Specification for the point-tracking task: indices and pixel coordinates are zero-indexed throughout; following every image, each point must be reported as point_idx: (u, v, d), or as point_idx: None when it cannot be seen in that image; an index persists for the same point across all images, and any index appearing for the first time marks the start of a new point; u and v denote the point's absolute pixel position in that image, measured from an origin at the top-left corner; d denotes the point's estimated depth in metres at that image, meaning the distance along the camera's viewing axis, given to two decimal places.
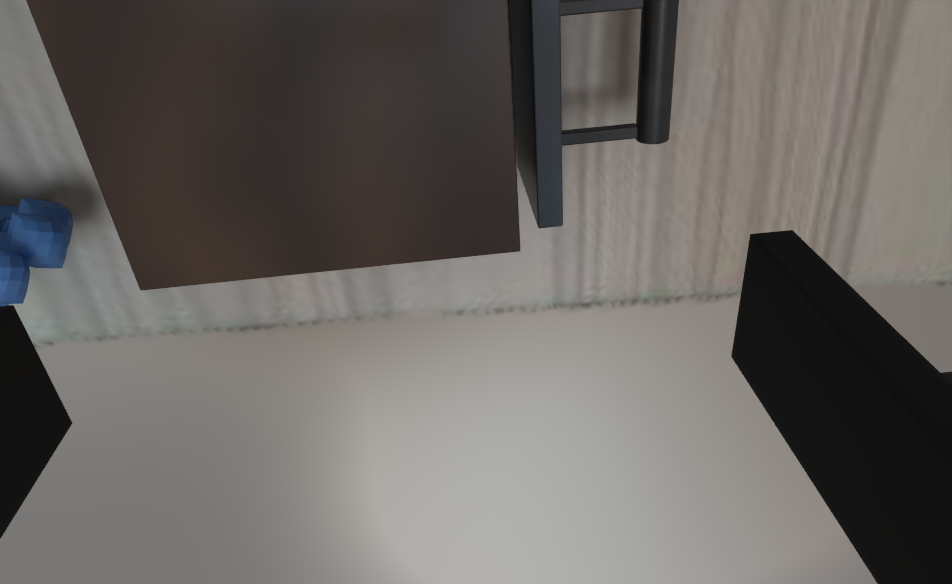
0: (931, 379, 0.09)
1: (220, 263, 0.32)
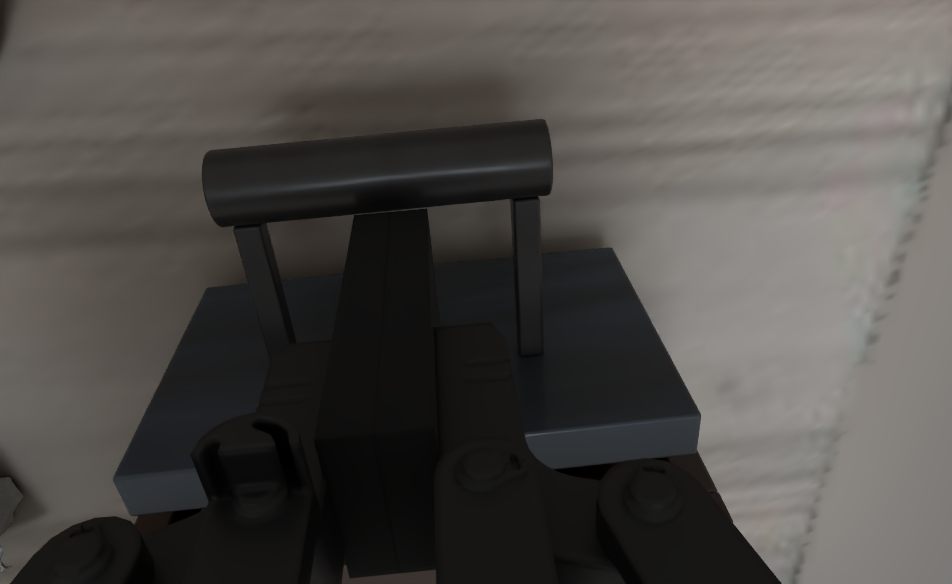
0: (419, 324, 0.11)
1: None
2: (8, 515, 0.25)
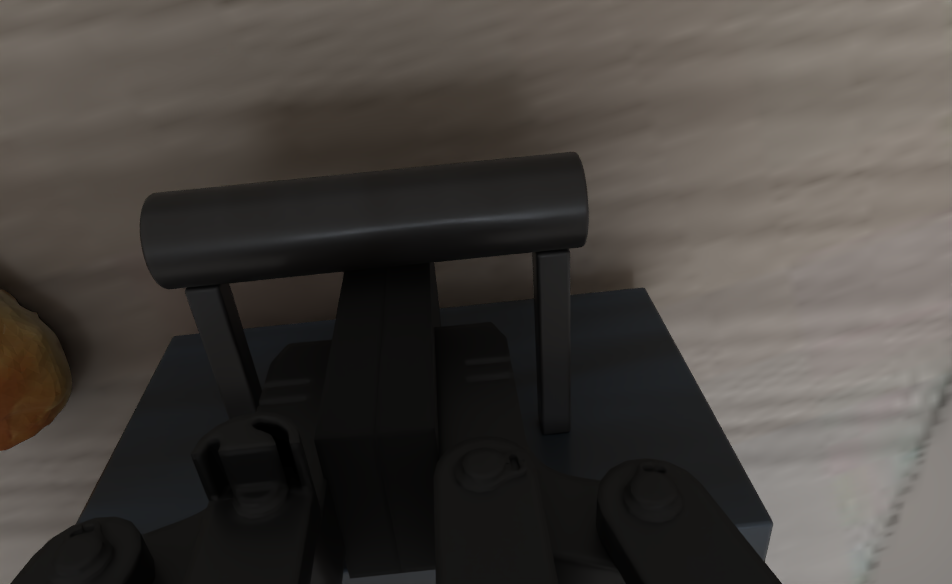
0: (420, 324, 0.11)
1: None
2: None
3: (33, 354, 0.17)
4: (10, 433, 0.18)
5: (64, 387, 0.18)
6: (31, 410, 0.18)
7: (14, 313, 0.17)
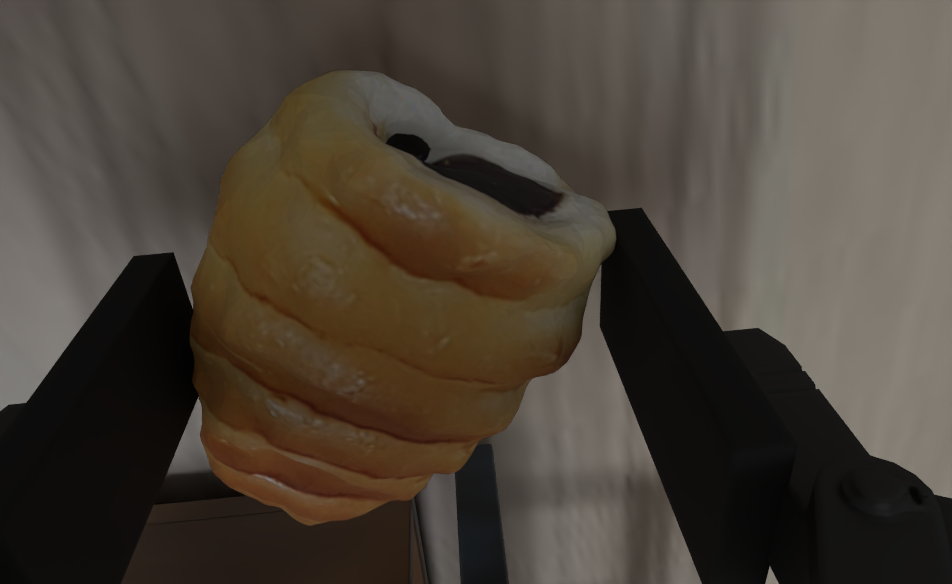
0: (709, 331, 0.10)
1: None
2: None
3: None
4: (253, 494, 0.14)
5: None
6: None
7: None
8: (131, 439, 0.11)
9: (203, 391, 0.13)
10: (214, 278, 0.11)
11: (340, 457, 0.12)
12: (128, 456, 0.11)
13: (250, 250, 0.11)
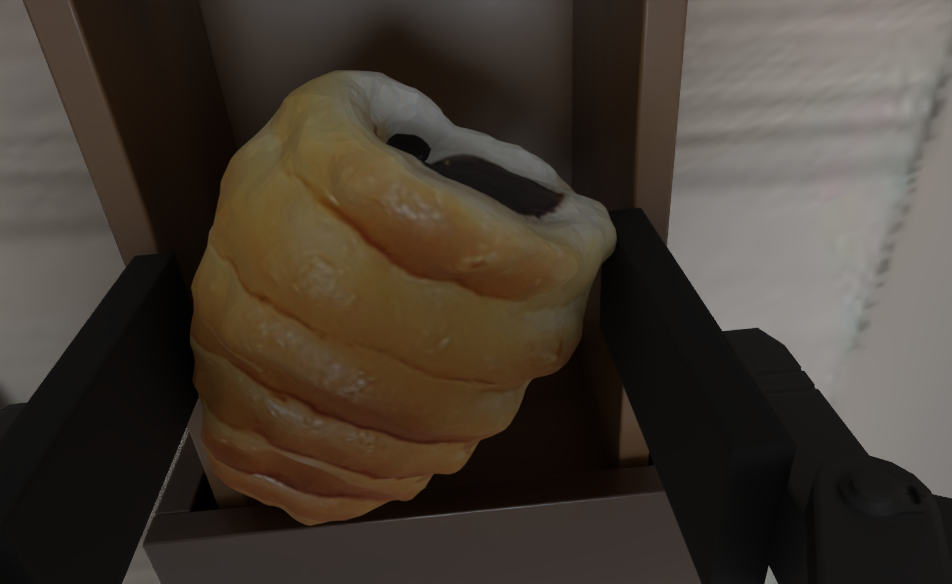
0: (708, 331, 0.10)
1: None
2: None
3: None
4: (253, 494, 0.14)
5: None
6: None
7: None
8: (132, 439, 0.11)
9: (203, 391, 0.13)
10: (214, 278, 0.11)
11: (341, 457, 0.12)
12: (129, 456, 0.11)
13: (251, 250, 0.11)
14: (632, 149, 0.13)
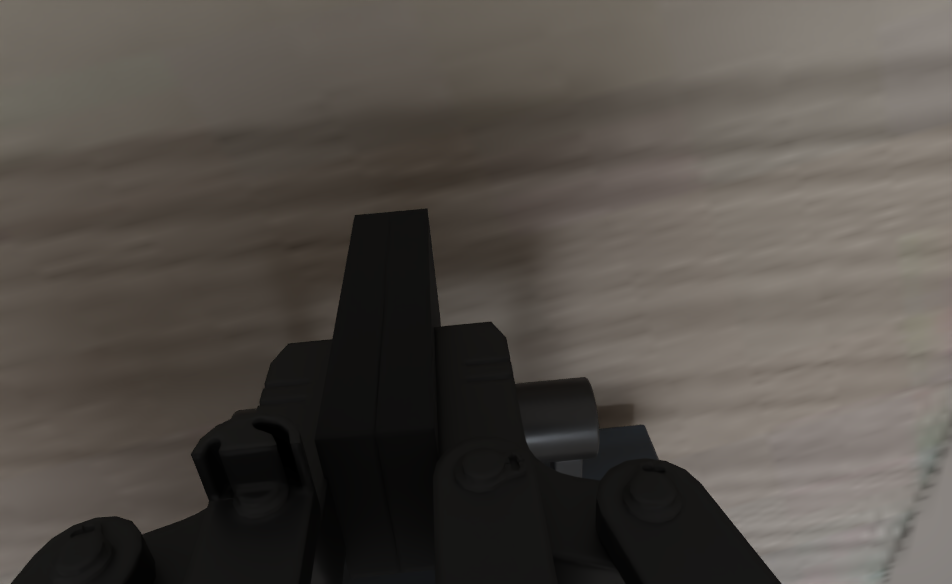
0: (419, 324, 0.11)
1: None
2: None
3: None
4: None
5: None
6: None
7: None
8: None
9: None
10: None
11: None
12: None
13: None
14: None
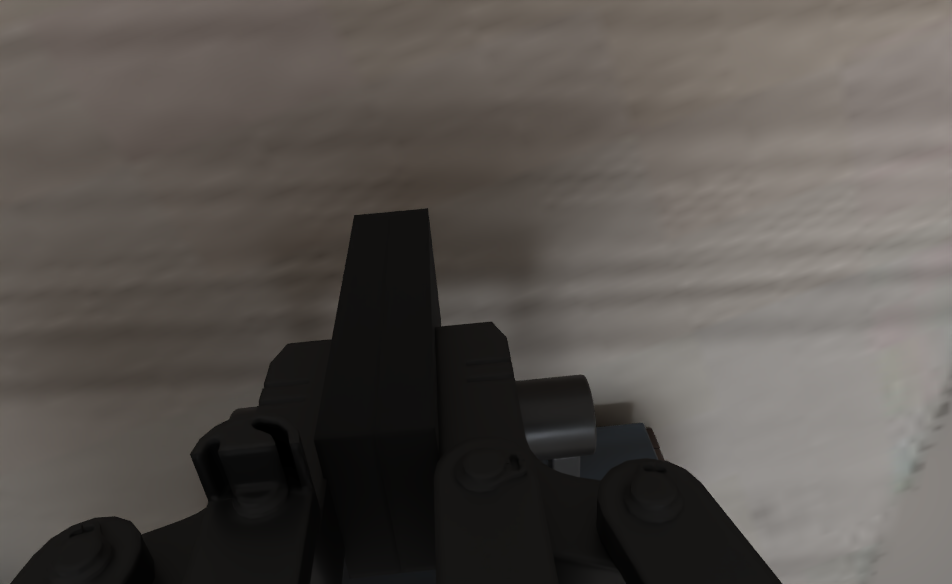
0: (420, 324, 0.11)
1: None
2: None
3: None
4: None
5: None
6: None
7: None
8: None
9: None
10: None
11: None
12: None
13: None
14: None
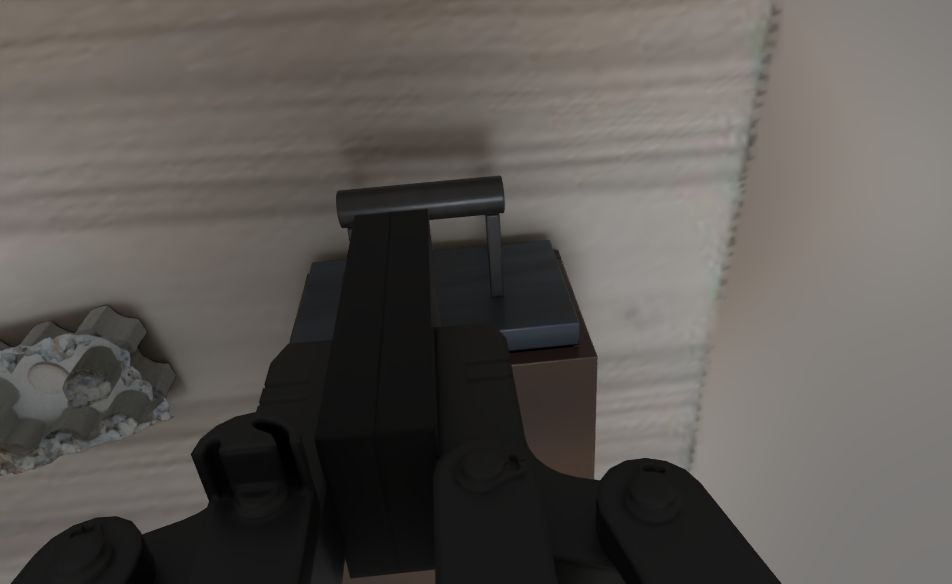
0: (419, 324, 0.11)
1: None
2: (169, 386, 0.40)
3: None
4: None
5: None
6: None
7: None
8: None
9: None
10: None
11: None
12: None
13: None
14: None
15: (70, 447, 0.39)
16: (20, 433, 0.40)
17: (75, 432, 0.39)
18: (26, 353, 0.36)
